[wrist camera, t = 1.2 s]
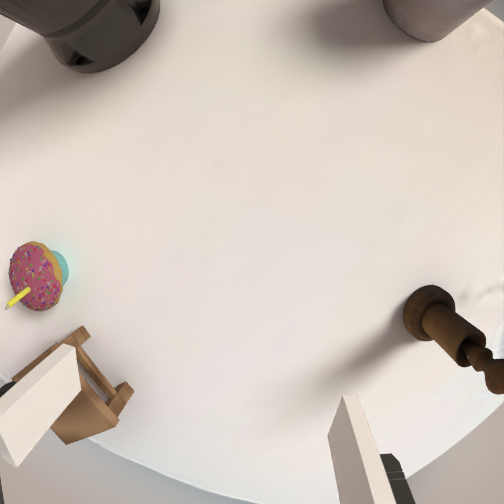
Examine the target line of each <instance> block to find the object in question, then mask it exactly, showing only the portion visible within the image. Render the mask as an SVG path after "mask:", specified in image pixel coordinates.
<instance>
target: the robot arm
mask: <svg viewBox="0 0 504 504" xmlns="http://www.w3.org/2000/svg"><path fill="white" fill-rule="evenodd" d="M159 12H160V1H159V0H0V14H1V15H3V16H5V17H7V18H9V19H11V20H13V21H15V22H17V23H19V24H21V25H23V26H25V27H27V28H29V29H31V30H32V31H34V32H36V33H38V34H40V35H42V36H43V37H44V39H45V40H46V42H47V44H48V45H49V47H50V48H51V50H52V52H53V53H54V55H55V57H56V58H57V59H58V60H59V61H60V62H61V63H62V64H63V65H65V66H67V67H69V68H70V69H72V70H74V71H77V72H81V73H93V72H99V71H102V70H105V69H108V68H110V67H113V66H115V65H116V64H118V63H120V62H122V61H123V60H125V59H126V58H127V57H129V56H130V55H131V54H133V53H134V52H135V51H136V50H137V49H138V48H139V47H140V46H141V45H142V44H143V43H144V42H145V40H146V39H147V38H148V36H149V35H150V34H151V32H152V30H153V29H154V27H155V25H156V22H157V20H158V16H159ZM80 391H81V385H80V379H79V372H78V365H77V358H76V350H75V347H73V346H70V345H67V344H64V343H63V344H62V345H61V346H60V347H58V348H57V349H56V350H55V351H54V352H52V353H51V354H50V355H49V356H48V357H46V358H45V359H44V360H43V361H42V362H41V363H39V364H38V365H37V366H36V367H35V368H34V369H32V370H31V371H30V372H29V373H28V374H27V375H26V376H24V377H23V378H22V379H21V380H20V381H19V382H18V383H17V382H15V381H12V382H10V383H7V384H5V385H4V386H2V387H1V388H0V452H1V454H2V456H3V458H4V460H5V461H7V462H9V463H10V464H12V465H13V466H15V467H18V466H19V464H20V463H21V462H22V461H23V459H24V458H25V457H26V456H27V454H28V453H29V452H30V451H31V450H32V448H33V447H34V446H35V445H36V443H37V442H38V441H39V440H40V438H41V437H42V436H43V435H44V434H45V432H46V431H47V430H48V429H49V428H50V426H51V425H52V424H53V423H54V422H55V420H56V419H57V418H58V417H59V416H60V414H61V413H62V412H63V411H64V410H65V408H66V407H67V406H68V405H69V404H70V403H71V401H72V400H73V399H74V398H75V397H76V396H77V394H78V393H79V392H80ZM328 440H329V445H330V450H331V456H332V461H333V466H334V471H335V477H336V482H337V487H338V493H339V499H340V504H415V501H414V499H413V496H412V494H411V491H410V488H409V486H408V483H407V481H406V479H405V475H404V473H403V472H402V468H401V465H400V463H399V461H398V460H397V459H396V458H395V457H394V456H393V455H392V454H379V452H378V449H377V446H376V444H375V441H374V438H373V435H372V432H371V430H370V427H369V424H368V422H367V419H366V416H365V413H364V411H363V408H362V405H361V403H360V400H359V398H358V395H342V398H341V401H340V404H339V406H338V409H337V412H336V415H335V418H334V420H333V423H332V426H331V428H330V431H329V433H328ZM0 504H4V499H3V493H2V486H1V479H0Z"/></svg>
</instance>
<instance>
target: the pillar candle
mask: <svg viewBox="0 0 504 504" xmlns="http://www.w3.org/2000/svg"><path fill="white" fill-rule="evenodd" d="M491 1H493V0H383V2H384V6H385V10H386V12H387V14H388V15H389V17H390V19H391V20H392V21H393V22H394V23H395V24H396V25H397V26H398V27H399V28H400V29H401V30H402V31H404V32H405V33H407V34H408V35H410V36H412V37H414V38H416V39H419V40H421V41H426V42H435V41H438V40H441V39H443V38H444V37H446V36H447V35H448V34H450V33H451V32H452V31H453V30H455V29H456V28H457V27H459V26H460V25H461V24H463V23H464V22H465V21H466V20H468V19H469V18H470V17H471V16H473V15H474V14H475V13H477V12H478V11H479V10H481V9H482V8H483V7H484V6H486V5H487V4H488V3H490V2H491Z"/></svg>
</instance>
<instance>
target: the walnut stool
mask: <svg viewBox="0 0 504 504" xmlns="http://www.w3.org/2000/svg"><path fill="white" fill-rule="evenodd" d="M89 337H91V336H90V335H89V333H88V332H87V331H86V329H85V328H84V326H82V327H80V328H79V329H78V330H76V331H75V332H74V333H72V334H71V335H70V336H68V337H67V338H66V339H65V340H63V341H62V342H61V343H60V344H57V343H56V344H54V345H53V346H52V347H51V348H49V349H48V350H47V351H45V352H44V353H43V354H42V355H40V356H39V357H38V358H37V359H35V360H34V361H33V362H31V363H30V364H29V365H28V366H26V367H25V368H24V369H23V370H21V371H20V372H19V373H18V374H16V375H15V376H14V377H13V378H12V381H15V382H17V383H18V382H19V381H20V380H21V379H22V378H23V377H24V376H26V375H27V374H28V373H29V372H30V371H31V370H32V369H34V368H35V367H36V366H37V365H38V364H39V363H41V362H42V361H43V360H44V359H45V358H46V357H48V356H49V355H50V354H51V353H52V352H54V351H55V350H56V349H57V348H58V347H60V346H61V345H62V344H63V343H64V344H67V345H70V346H73V347H75V350H76V357H77V359H78V360H79V361H80V363H81V364H82V365H83V367H84V368H85V369H86V370H87V372H88V373H89V374H90V376H91V377H92V378H93V379H94V380H95V382H96V383H97V384H98V385H99V386H100V388H101V389H102V390H103V391H104V392H105V394H106V395H107V396H108V397H109V398H108V400H107V401H106V403H104V402H103V401H102V400H101V399H100V397H99V396H98V395H97V394H96V393H95V392H94V390H93V389H92V388H91V387H90V386H89V384H88V383H87V382H86V381H85V379H84V378H83V377H82V376H81V374H80V373H79V379H80V385H81V391H80V392H79V393H78V394H77V396H76V397H75V398H74V399H73V400H72V401H71V403H70V404H69V405H68V406H67V407H66V408H65V410H64V411H63V412H62V413H61V414H60V416H59V417H58V418H57V419H56V420H55V422H54V423H53V424H52V425H51V426H50V428H51V429H52V430H53V431H54V432H55V434H56V435H58V437H59V438H60V439H61V440H62V441H63V442H64V443H65V444H66V445H67V444H70V443H73V442H76V441H79V440H82V439H84V438H87V437H90V436H93V435H95V434H98V433H101V432H103V431H106V430H109V429H111V428H114V427H115V426H116V425H117V423H118V422H119V419H118V418H117V417H118V416H119V414H120V413H121V411H122V409H123V408H124V406H125V405H126V403H127V402H128V400H129V399H130V397H131V396H132V394H133V392H134V390H133V389H132V388H131V387H130V386H129V385H128V383H127V382H124V383H122V384H120V385H118V386H117V388H116V389H114V388H113V387H112V385H111V384H110V383H109V382H108V381H107V379H106V378H105V377H104V376H103V375H102V373H101V372H100V371H99V370H98V368H97V367H96V366H95V364H94V363H93V362H92V361H91V359H90V358H89V357H88V355H87V354H86V353H85V351H84V350H83V349H82V347H81V346H80V345H81V344H83V343H84V342H85V341H86V340H87V339H88V338H89Z"/></svg>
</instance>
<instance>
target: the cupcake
mask: <svg viewBox="0 0 504 504" xmlns="http://www.w3.org/2000/svg"><path fill="white" fill-rule="evenodd" d="M10 261H11V262H10V268H9V269H10V270H9V277H10V281H11V282H10V283H11V285H12V287H13V288H12V289H13V290H14V294H16V296H15V297H13V298H12V299H11V300H10V301H8V302H7V307H6V308H5V310H7V308H8V307H9V308H10V307H12V306H13V305H14V304H15V303H17V302H18V301H21V302H22V303H23V304H24V306H26V307H28V308H30V309H31V310H34V311H35V310H36V311H44V310H47V309H50V308H51V307H53V306H54V305H56V304H57V303H58V301H59V298H60V295H61V293H62V291H63V287H62V286H63V285H64V284H65V282H66V281H67V278H68V266H67V263H66V261H65V259H64V257H63V256H62V255H61V254H60V253H58V252H56V251H50V250H49V249H48V248H47V247H46V246H45V245H44V244H42V243H38V242H34V241H31V242H28V243H26V244H24V245H22V246H21V247H18V249H17V250H16V251H15V253H14V254H13V257H12V258H11V259H10Z"/></svg>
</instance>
